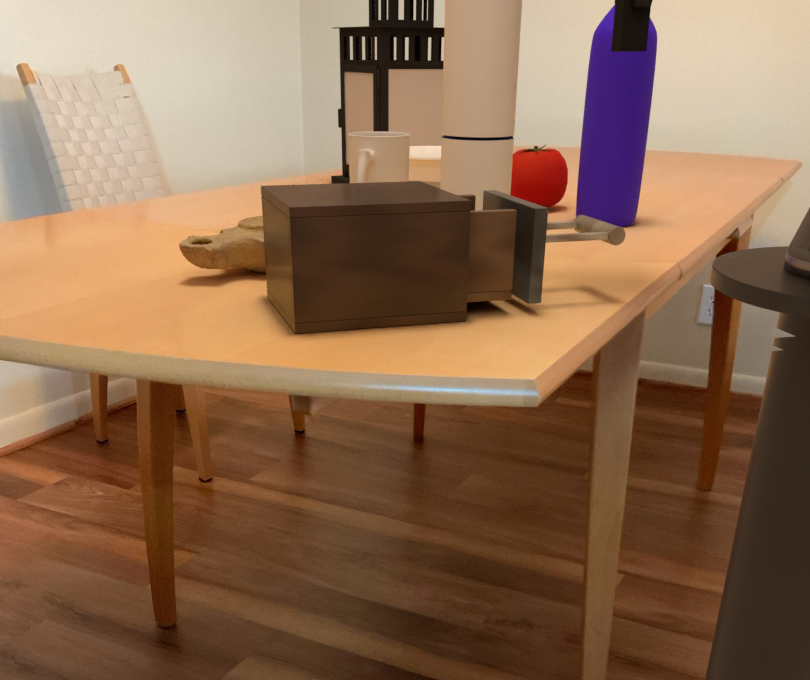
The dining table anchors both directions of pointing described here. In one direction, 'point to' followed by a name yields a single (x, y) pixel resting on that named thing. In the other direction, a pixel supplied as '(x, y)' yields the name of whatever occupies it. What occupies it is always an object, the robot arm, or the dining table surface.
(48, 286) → the dining table surface
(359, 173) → the mug
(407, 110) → the lantern
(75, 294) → the dining table surface
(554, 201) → the tomato
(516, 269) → the drawer
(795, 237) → the robot arm
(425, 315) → the cabinet
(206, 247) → the oil lamp
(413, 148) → the bowl
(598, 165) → the bottle
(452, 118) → the cylindrical container
